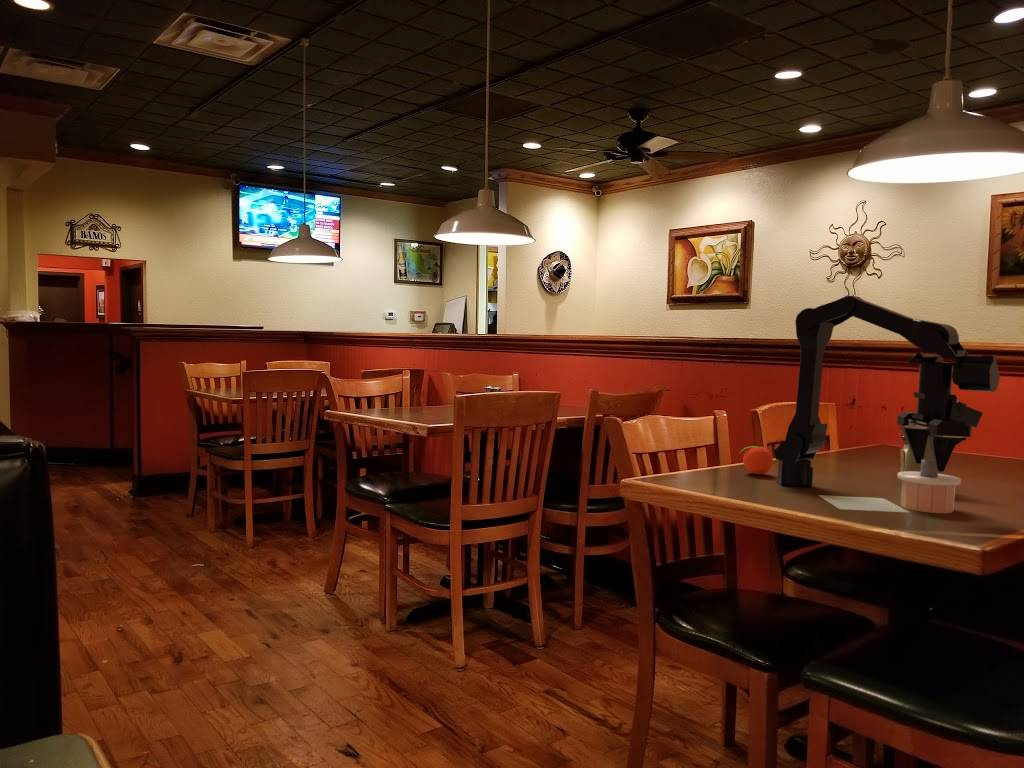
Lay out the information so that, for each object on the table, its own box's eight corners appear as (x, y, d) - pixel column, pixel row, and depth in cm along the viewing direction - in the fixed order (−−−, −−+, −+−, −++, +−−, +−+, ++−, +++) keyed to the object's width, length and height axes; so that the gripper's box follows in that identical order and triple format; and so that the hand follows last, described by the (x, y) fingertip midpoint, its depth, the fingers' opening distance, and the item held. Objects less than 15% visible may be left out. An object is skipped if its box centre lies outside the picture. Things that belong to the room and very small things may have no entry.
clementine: (738, 475, 186) (740, 446, 185) (737, 470, 192) (738, 442, 192) (773, 478, 184) (775, 448, 183) (770, 473, 191) (772, 444, 190)
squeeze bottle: (928, 485, 180) (933, 408, 179) (951, 492, 172) (956, 412, 171) (895, 485, 179) (899, 408, 178) (916, 492, 171) (921, 411, 170)
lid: (912, 484, 147) (913, 463, 147) (888, 474, 158) (889, 454, 158) (972, 486, 146) (973, 466, 146) (944, 476, 157) (945, 457, 157)
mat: (839, 512, 148) (839, 508, 148) (818, 498, 161) (818, 495, 161) (909, 515, 147) (910, 512, 147) (882, 501, 160) (883, 498, 160)
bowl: (913, 514, 148) (915, 483, 148) (893, 504, 157) (895, 475, 157) (961, 516, 147) (964, 485, 147) (939, 506, 156) (941, 477, 156)
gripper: (1004, 393, 141) (998, 477, 142) (954, 386, 159) (949, 461, 160) (940, 390, 142) (935, 475, 143) (898, 384, 160) (893, 459, 161)
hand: (929, 467), depth 152 cm, fingers open, 9 cm apart
